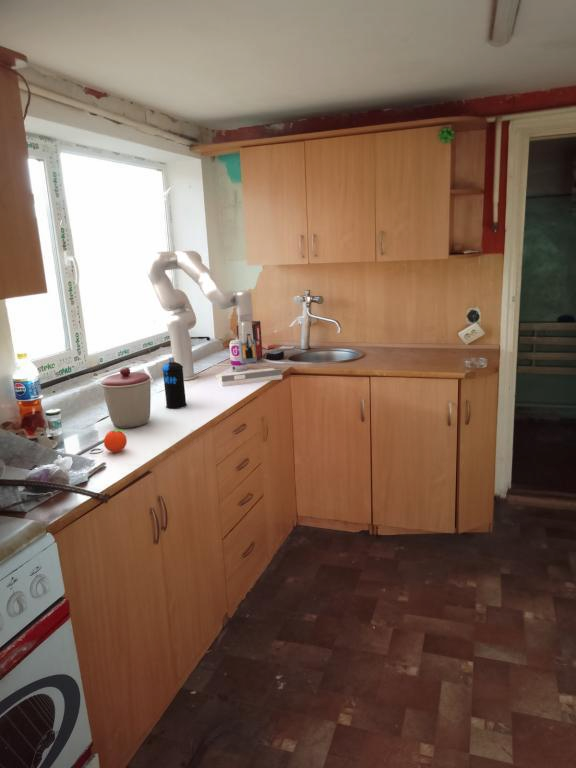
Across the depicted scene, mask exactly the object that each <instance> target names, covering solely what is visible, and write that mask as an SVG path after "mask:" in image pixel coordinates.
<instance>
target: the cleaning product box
mask: <svg viewBox="0 0 576 768" xmlns="http://www.w3.org/2000/svg"><path fill="white" fill-rule="evenodd" d="M251 323H252V331H253V339H254V340H255V342H256V356H257V362H252V363H251V364H256V363H258V362H259V361H260V360H261V359H262V358H263V346H262V345H263V344H262V343H263V342H262V328H261V327H262V326H261V321H260V320H253V321H251ZM236 334H237V335H236V336H237V339H239V329H238V324H237V325H236Z"/></svg>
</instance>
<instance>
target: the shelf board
mask: <svg viewBox="0 0 576 768" xmlns="http://www.w3.org/2000/svg"><path fill="white" fill-rule="evenodd" d="M215 377H216V380H217V381H218V383H219V384H220V385H221V386H222V387H227V386H228V387H229V386H235V385H244V384H245V385H246V384H251V383H253V384H254V383H260V382H268V381H277V380H283V369H282V368H279V369H278V368H277V369H275V368H274V367H270V368H269V367H268V368H261V369H252V370H245V371H239V372H236V371H233V372H226V373H218V374H215Z"/></svg>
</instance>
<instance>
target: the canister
mask: <svg viewBox="0 0 576 768" xmlns="http://www.w3.org/2000/svg"><path fill="white" fill-rule="evenodd" d="M152 380H153V377H152V375H148V374H147V373H144V372H140V371H139V372H134V371H133V372H132V371H131V369H130V368H129V367H122V368H120V370H119V373H117V374H116V373H115V374H112V375H108V376H107V377H105V378H103V380H101V381H100V382H99V386H100V387H102V391H103V396H104V399H105V403H106V407H107V411H108V415H109V418H110V420H111V422H112V425H114V426H115V427H117V428H120V429H121V428H122V429H130V428H131V429H132V428H137V427H140V426H143V425H144V424H145V425H146V424H147V423H148V422H149V420H150V417H151V402H152V401H151V398H152V397H151V391H152V390H151V381H152Z"/></svg>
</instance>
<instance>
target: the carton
mask: <svg viewBox="0 0 576 768" xmlns="http://www.w3.org/2000/svg"><path fill="white" fill-rule="evenodd" d="M251 341H252V340H251ZM238 342H239V354H240V362H241V363H242V364H244V363H247V364H253V363H252V362H256V363H258V362H257V356H256V342H255V340H254V339H253V343H252V352H253V358H249V359H246V353H245V350H246V346H245V343H244V344H243V343H242V342H241V341H238ZM246 343H248V342H246Z"/></svg>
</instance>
